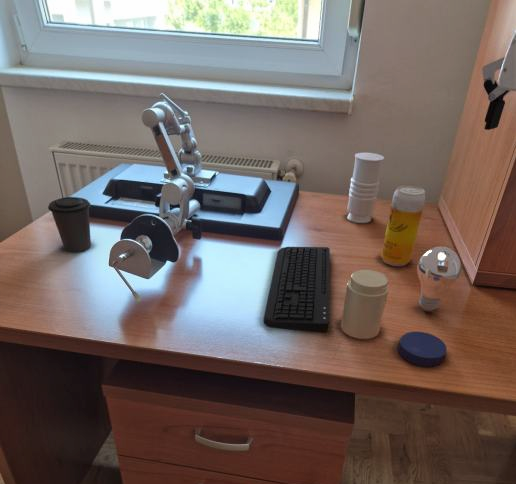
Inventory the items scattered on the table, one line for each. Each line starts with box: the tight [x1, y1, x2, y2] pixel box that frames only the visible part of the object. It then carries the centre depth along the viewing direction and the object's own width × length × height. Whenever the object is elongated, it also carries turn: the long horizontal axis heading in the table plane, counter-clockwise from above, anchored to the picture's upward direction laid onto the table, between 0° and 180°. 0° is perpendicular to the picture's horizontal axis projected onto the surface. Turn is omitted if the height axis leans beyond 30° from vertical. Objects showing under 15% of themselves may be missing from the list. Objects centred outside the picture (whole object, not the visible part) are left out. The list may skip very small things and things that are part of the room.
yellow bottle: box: [380, 185, 427, 267], centre depth 96 cm, size 6×6×15 cm
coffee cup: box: [47, 196, 92, 253], centre depth 98 cm, size 8×8×10 cm
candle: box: [346, 152, 385, 224], centre depth 115 cm, size 7×7×15 cm
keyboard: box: [263, 246, 331, 334], centre depth 90 cm, size 30×11×2 cm, turn 173°
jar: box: [340, 269, 390, 340], centre depth 77 cm, size 6×6×9 cm
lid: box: [397, 331, 448, 368], centre depth 74 cm, size 7×7×2 cm
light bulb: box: [416, 245, 462, 313], centre depth 81 cm, size 7×7×12 cm
